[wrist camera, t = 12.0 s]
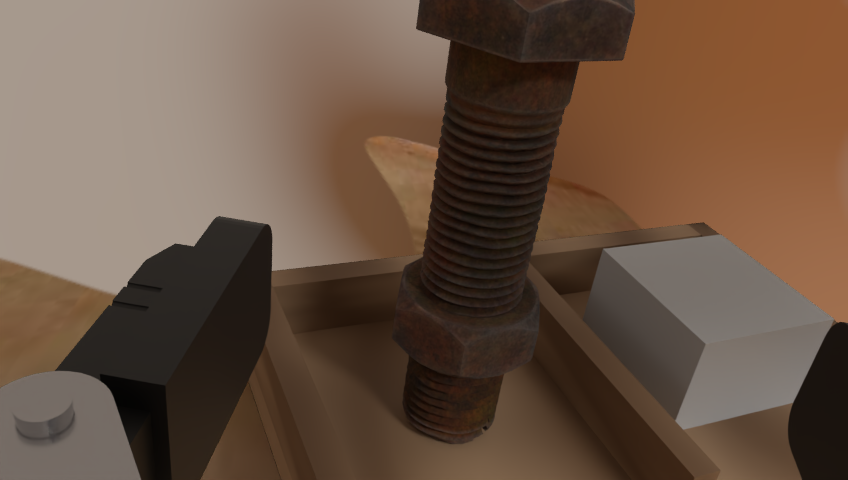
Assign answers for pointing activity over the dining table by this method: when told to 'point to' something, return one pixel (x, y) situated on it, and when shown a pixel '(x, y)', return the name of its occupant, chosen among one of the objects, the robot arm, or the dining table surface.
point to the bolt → (490, 197)
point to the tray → (519, 395)
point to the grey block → (704, 327)
